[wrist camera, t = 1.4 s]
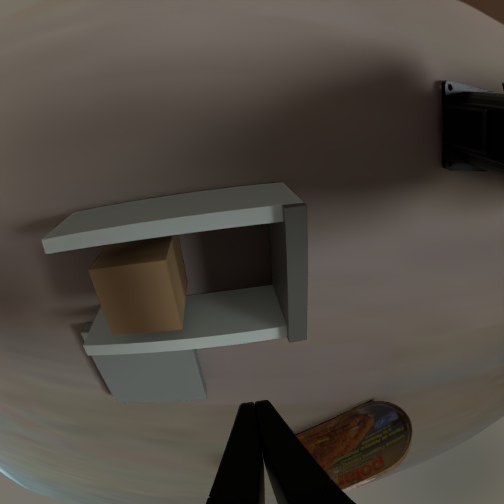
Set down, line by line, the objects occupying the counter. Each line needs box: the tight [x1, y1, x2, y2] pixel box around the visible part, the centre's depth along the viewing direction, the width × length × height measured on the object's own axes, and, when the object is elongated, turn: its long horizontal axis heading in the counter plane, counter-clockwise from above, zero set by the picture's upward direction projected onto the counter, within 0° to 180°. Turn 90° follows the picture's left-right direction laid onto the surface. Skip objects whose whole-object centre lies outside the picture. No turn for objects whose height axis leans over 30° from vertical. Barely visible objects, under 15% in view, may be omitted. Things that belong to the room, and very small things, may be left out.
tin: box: [296, 401, 412, 492], centre depth 26 cm, size 15×3×8 cm, turn 118°
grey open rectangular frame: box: [42, 182, 308, 356], centre depth 17 cm, size 13×8×5 cm, turn 95°
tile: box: [81, 322, 207, 403], centre depth 22 cm, size 8×8×1 cm
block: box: [88, 235, 188, 335], centre depth 17 cm, size 4×4×5 cm
